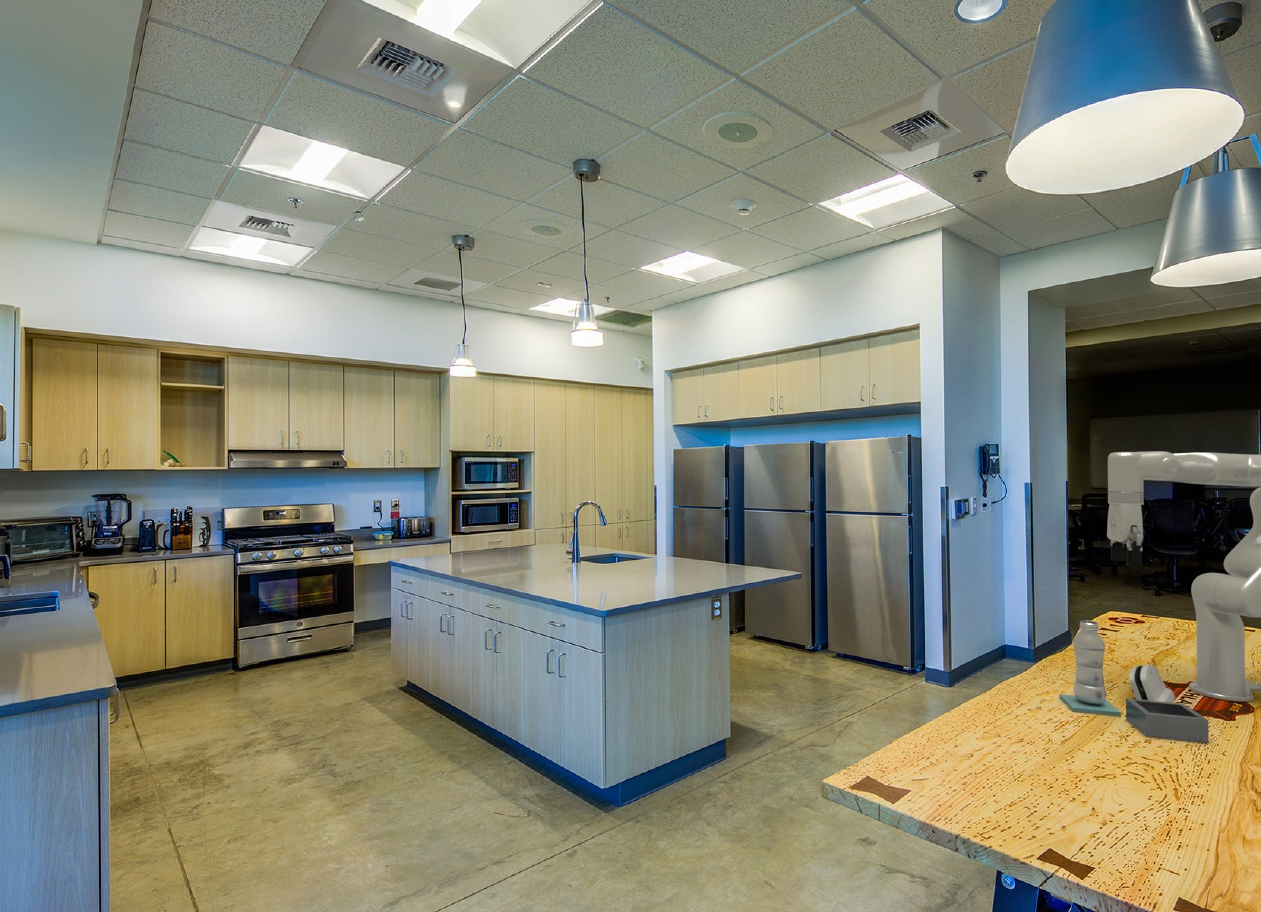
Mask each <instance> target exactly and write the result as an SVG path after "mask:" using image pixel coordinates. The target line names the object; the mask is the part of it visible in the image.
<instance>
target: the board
mask: <svg viewBox="0 0 1261 912" xmlns="http://www.w3.org/2000/svg"><path fill="white" fill-rule="evenodd" d="M1058 695H1059V699H1060V700H1061V701H1062V702H1063V703H1064V704H1065V705H1066V706H1067V708H1069V709H1070V710H1071V711H1072V712H1074V713H1080V714H1081V713H1082V714H1091V715H1092V714H1093V715H1100V716H1102V715H1103V716H1111V717H1120V718H1121V717H1122V712H1121V711H1120V710H1119V708H1117V707H1115V705H1113V704H1112V703H1111V702H1110V701H1108V700H1107V699H1106V700H1105V702H1104V703H1103V704H1089V703H1085V702H1082V701H1079V700H1078V699H1077V698H1076V697H1075V694H1074V695H1073V694H1064V693H1063V694H1062V693H1061V694H1060V693H1059V694H1058Z"/></svg>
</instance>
